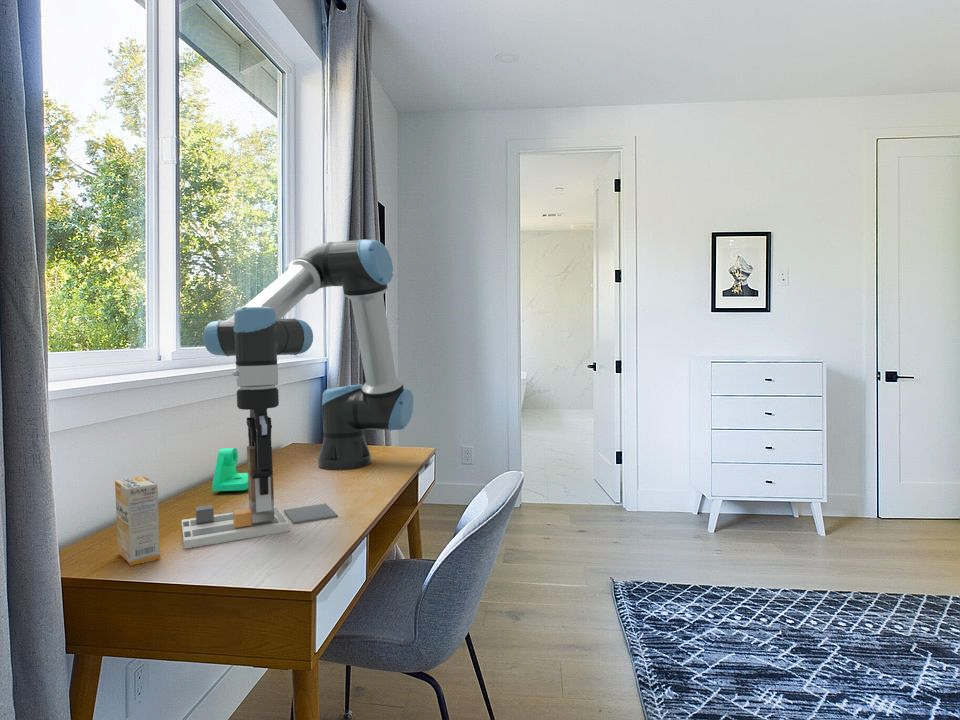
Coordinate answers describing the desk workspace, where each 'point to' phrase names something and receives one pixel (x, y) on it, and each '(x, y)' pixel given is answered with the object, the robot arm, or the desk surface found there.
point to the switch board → (228, 529)
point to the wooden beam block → (251, 487)
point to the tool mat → (310, 513)
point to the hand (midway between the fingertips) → (261, 507)
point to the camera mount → (228, 472)
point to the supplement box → (137, 520)
